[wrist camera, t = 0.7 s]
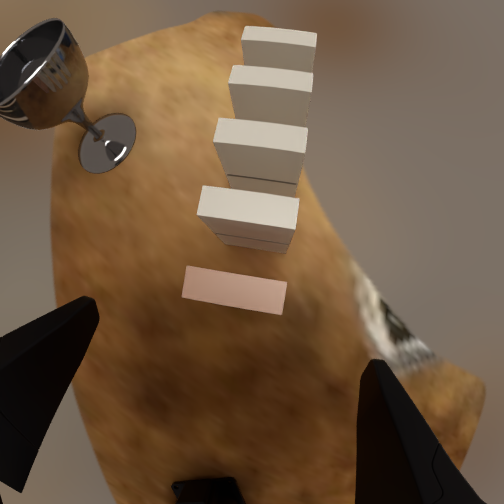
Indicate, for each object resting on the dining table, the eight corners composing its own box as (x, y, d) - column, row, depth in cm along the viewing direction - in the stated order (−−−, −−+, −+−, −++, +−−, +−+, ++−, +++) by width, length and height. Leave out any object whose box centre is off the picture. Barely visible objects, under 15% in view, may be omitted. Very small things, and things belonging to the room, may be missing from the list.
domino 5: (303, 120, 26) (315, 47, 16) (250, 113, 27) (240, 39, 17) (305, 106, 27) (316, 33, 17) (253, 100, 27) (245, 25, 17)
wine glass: (150, 110, 27) (83, 8, 13) (124, 181, 27) (22, 101, 12) (91, 109, 28) (17, 30, 13) (65, 173, 27) (-32, 112, 12)
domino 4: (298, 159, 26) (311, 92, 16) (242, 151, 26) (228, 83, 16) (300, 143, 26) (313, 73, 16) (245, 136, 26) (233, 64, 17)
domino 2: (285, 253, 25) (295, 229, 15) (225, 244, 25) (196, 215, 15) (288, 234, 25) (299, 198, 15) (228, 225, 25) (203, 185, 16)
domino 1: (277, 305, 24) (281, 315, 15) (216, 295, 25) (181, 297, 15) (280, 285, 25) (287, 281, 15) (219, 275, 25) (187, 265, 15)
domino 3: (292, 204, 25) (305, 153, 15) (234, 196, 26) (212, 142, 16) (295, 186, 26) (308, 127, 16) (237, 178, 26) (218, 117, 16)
